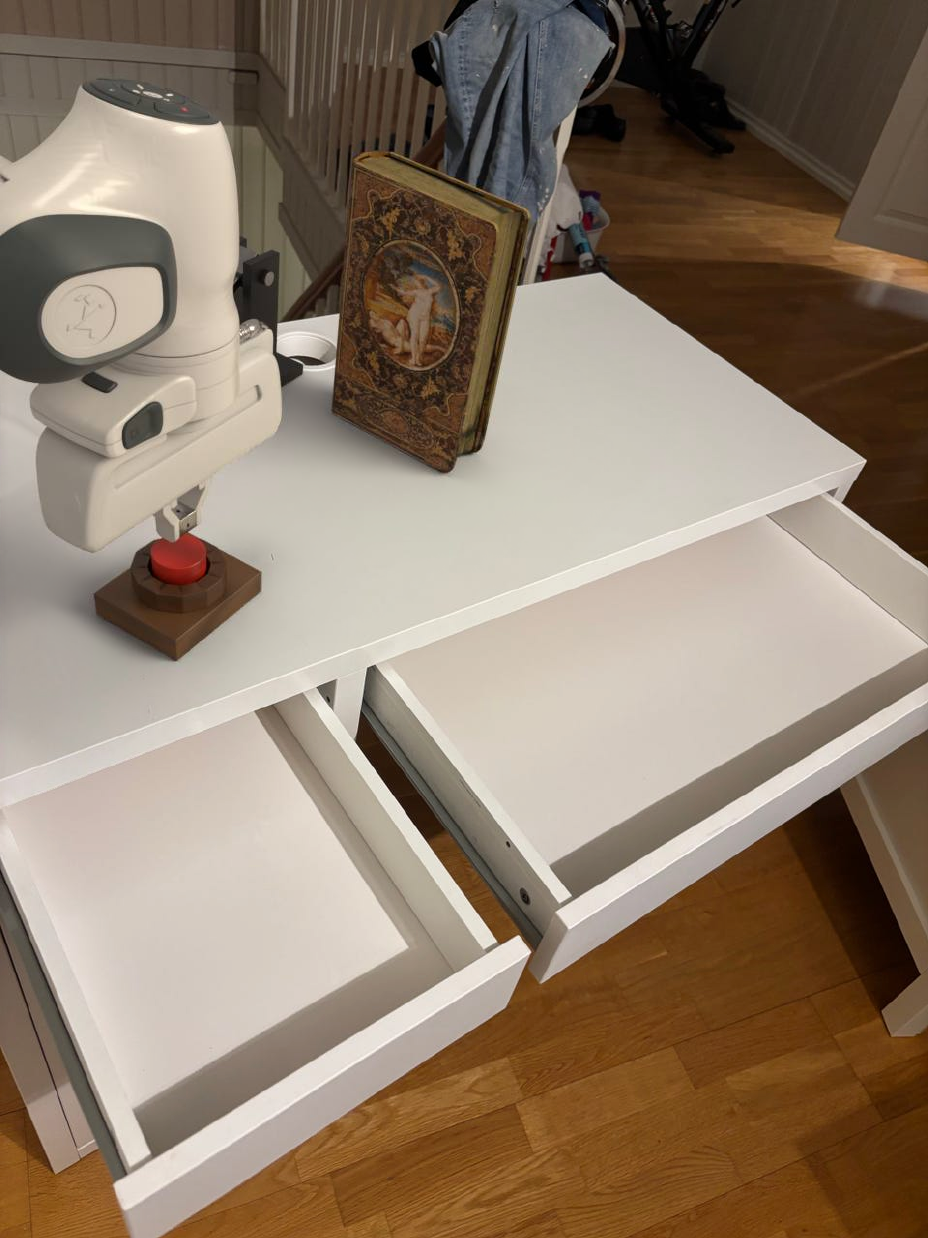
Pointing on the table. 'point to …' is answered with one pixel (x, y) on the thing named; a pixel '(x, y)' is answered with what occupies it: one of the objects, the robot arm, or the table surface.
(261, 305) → the bracket
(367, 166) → the book
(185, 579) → the button
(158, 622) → the button block
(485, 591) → the table surface
